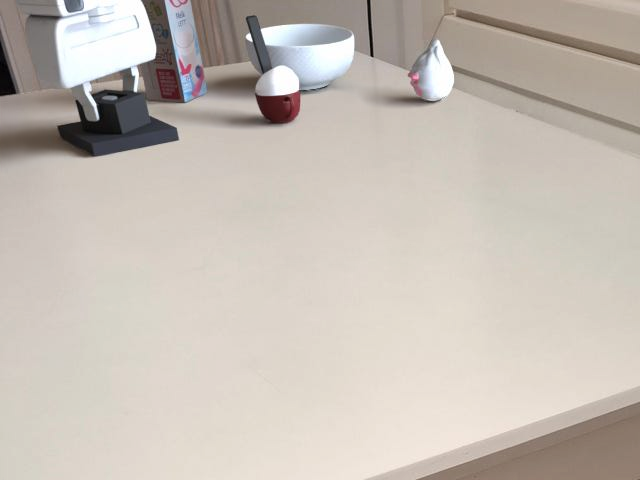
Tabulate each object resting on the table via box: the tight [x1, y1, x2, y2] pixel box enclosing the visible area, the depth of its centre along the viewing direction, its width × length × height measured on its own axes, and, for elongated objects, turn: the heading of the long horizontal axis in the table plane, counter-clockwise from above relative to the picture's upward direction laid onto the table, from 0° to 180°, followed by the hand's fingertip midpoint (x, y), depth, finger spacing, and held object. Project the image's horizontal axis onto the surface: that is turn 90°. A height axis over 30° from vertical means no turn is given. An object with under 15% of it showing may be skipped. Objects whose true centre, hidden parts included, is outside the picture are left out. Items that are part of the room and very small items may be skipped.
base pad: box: [56, 96, 180, 157], centre depth 123 cm, size 12×12×5 cm
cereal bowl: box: [244, 23, 355, 90], centre depth 144 cm, size 17×17×7 cm
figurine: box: [407, 38, 455, 99], centre depth 136 cm, size 7×7×8 cm
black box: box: [74, 88, 151, 134], centre depth 122 cm, size 6×6×4 cm
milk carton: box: [139, 0, 208, 104], centre depth 134 cm, size 7×7×22 cm
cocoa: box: [245, 14, 301, 124], centre depth 127 cm, size 10×6×12 cm, turn 12°
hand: (113, 112), depth 122 cm, fingers closed on black box, 6 cm apart
